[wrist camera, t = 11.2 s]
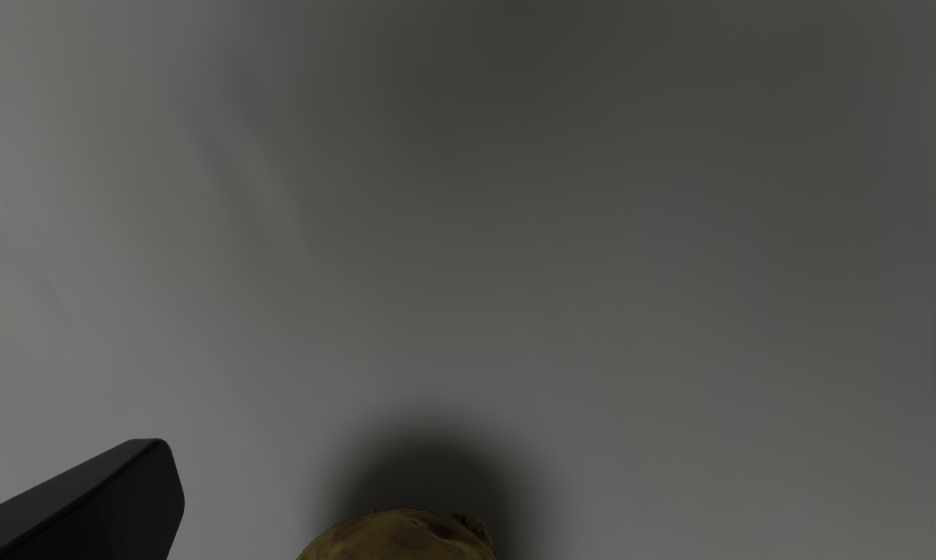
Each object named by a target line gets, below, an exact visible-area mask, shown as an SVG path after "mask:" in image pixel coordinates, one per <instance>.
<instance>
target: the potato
mask: <svg viewBox="0 0 936 560" xmlns="http://www.w3.org/2000/svg"><path fill="white" fill-rule="evenodd" d="M452 516H453V518H449V517H446V516H443V515H440V514H437V513H434V512H432V511H427V512H426V511H422V510H419V509H405V508H404V507H403V506H402V505H401V508H400V509H394V510H389V511H382V512H379V511H377V510H376V509H374V510H372V511H371V512H370V513H369V514H368V515H367V516H363V517H357V518H353V519H350V520H346V521H343V522H340V523H337V524H334V525H333V526H332V527H331V528H330V529H328V530H327V531H325V532H324V533H322V534H321V535H319V536H318V537H317V538H316V539H314V540H313V541H312V542H311V543H310V544H309V545H308V546H307V547H306V548H305V549H304V550H303V551H302V553H301V554H300V555H299V556H298V558H297V559H296V560H496V559H495V557H494V556H493V554H495V553H494V551H493V550H492V548H491V545H494V544H493V542H492V540H491V538H490V536H489V534H488V532H487V530H486V527H485V525H484V521H481V520H480V518H478V517H475V518H473V519H472V518H470V517H468V516H466V515H465V514H463V513H459V512H455V513H454V514H452Z"/></svg>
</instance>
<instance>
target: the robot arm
mask: <svg viewBox="0 0 936 560" xmlns="http://www.w3.org/2000/svg"><path fill="white" fill-rule="evenodd" d="M184 507H185V499H184V492H183V489H182V486H181V482H180V479H179V475H178V472H177V468H176V465H175V461H174V458H173V454H172V451H171V449H170V446H169V445H168V443H167V442H166V441H164V440H162V439H159V438H151V439H132V440H128V441H126V442H124V443H122V444H120V445H118V446H116V447H114V448H112V449H110V450H108V451H106V452H104V453H102V454H100V455H98V456H96V457H94V458H92V459H90V460H88V461H85V462H83V463H81V464H79V465H77V466H75V467H73V468H71V469H69V470H67V471H65V472H63V473H61V474H59V475H57V476H55V477H53V478H51V479H49V480H47V481H45V482H43V483H41V484H39V485H37V486H35V487H33V488H31V489H29V490H27V491H25V492H23V493H21V494H19V495H17V496H15V497H13V498H11V499H9V500H7V501H5V502H3V503H1V504H0V560H166V559H167V557H168V554H169V551H170V549H171V546H172V543H173V541H174V538H175V536H176V533H177V530H178V528H179V525H180V522H181V520H182V517H183V513H184Z"/></svg>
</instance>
